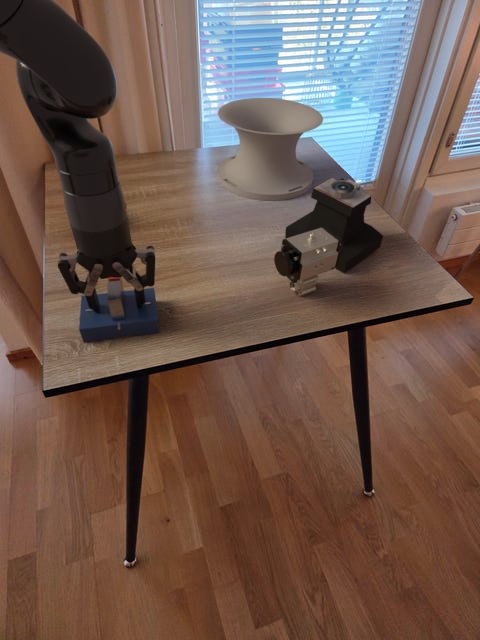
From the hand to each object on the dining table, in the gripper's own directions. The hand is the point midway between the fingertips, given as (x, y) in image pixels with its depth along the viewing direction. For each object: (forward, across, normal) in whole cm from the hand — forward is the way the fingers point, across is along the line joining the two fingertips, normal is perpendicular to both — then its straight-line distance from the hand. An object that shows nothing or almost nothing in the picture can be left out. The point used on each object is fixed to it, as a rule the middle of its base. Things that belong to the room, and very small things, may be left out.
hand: (118, 306), depth 68 cm
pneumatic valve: (+3, +33, +2) cm, 33 cm away
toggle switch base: (+3, 0, 0) cm, 3 cm away
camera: (+3, +45, +16) cm, 48 cm away
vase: (+3, +37, +48) cm, 61 cm away
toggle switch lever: (0, 0, 0) cm, 0 cm away
